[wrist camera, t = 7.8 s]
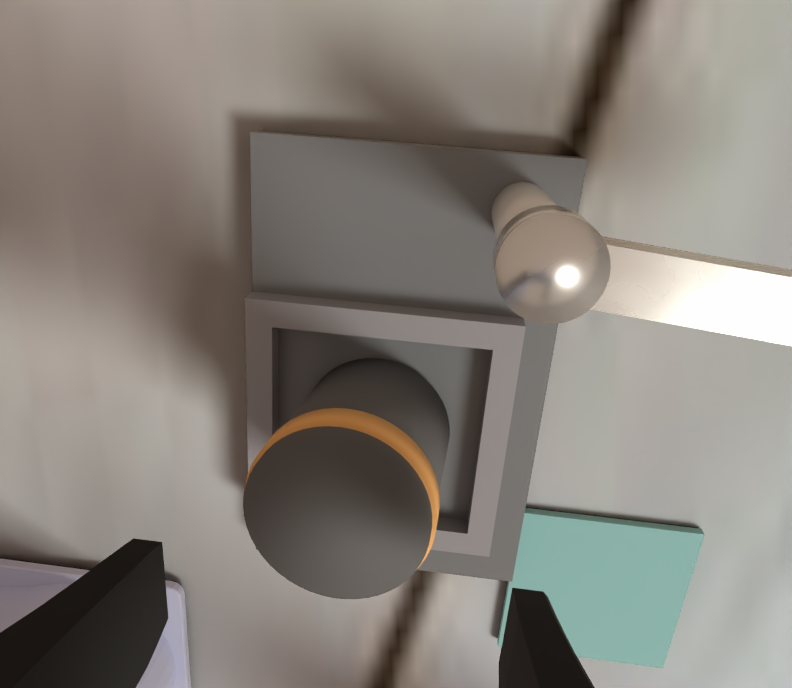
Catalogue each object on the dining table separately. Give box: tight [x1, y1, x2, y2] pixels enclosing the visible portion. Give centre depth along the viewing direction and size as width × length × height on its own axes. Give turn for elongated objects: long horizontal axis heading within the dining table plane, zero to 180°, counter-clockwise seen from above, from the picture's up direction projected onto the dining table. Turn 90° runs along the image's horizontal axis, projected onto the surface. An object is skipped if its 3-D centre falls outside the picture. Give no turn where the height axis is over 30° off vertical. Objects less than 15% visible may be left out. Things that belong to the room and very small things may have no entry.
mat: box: [498, 508, 704, 668], centre depth 22 cm, size 6×6×1 cm
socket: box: [245, 131, 587, 582], centre depth 17 cm, size 9×14×6 cm, turn 176°
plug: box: [243, 358, 450, 599], centre depth 17 cm, size 5×5×5 cm
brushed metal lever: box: [493, 205, 792, 346], centre depth 11 cm, size 10×2×1 cm, turn 81°
